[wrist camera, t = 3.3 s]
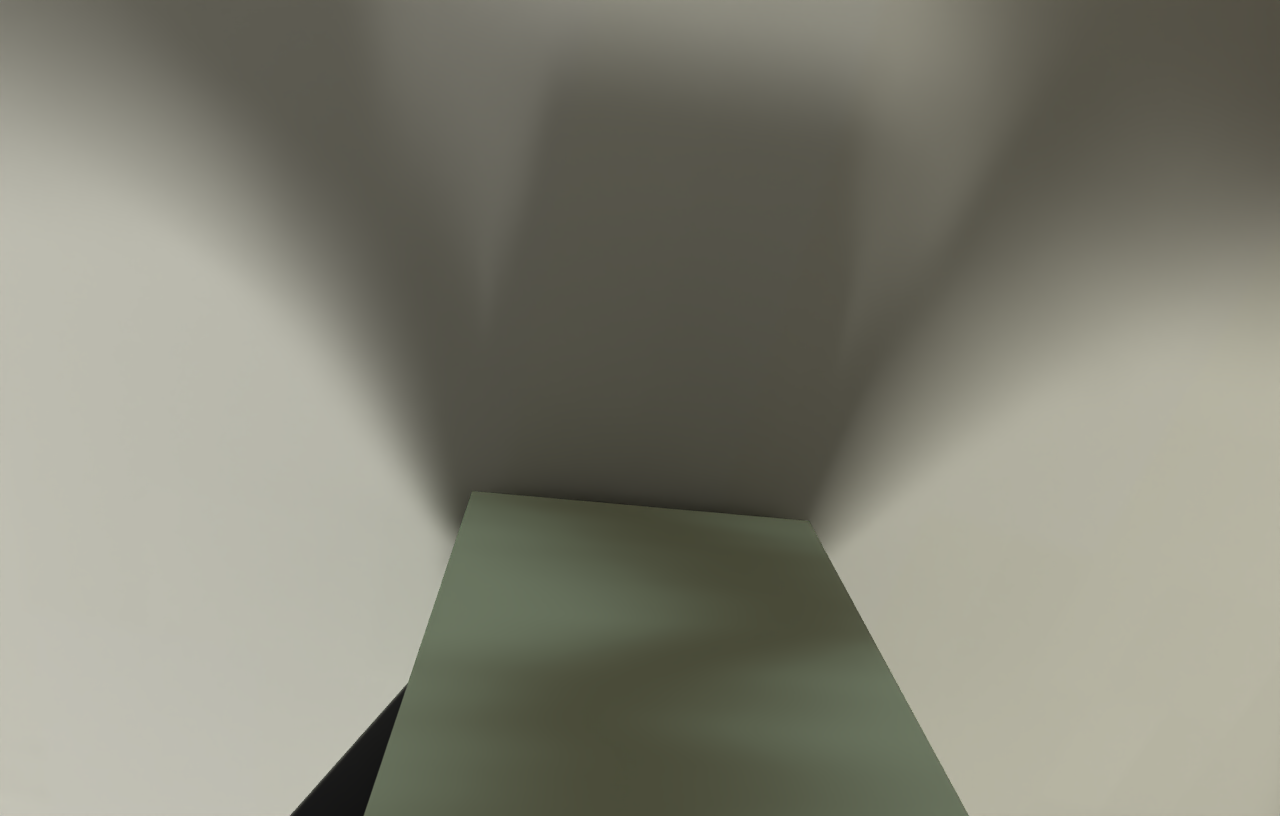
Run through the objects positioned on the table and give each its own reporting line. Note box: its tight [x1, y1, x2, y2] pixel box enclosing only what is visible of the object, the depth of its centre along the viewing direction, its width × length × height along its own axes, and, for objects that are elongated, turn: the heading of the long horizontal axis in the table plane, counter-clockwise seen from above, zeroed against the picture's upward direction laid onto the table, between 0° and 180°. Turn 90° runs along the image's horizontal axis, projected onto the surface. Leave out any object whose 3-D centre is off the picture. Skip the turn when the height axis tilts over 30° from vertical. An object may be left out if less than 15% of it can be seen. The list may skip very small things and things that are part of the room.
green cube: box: [364, 491, 969, 816], centre depth 8 cm, size 5×5×5 cm
